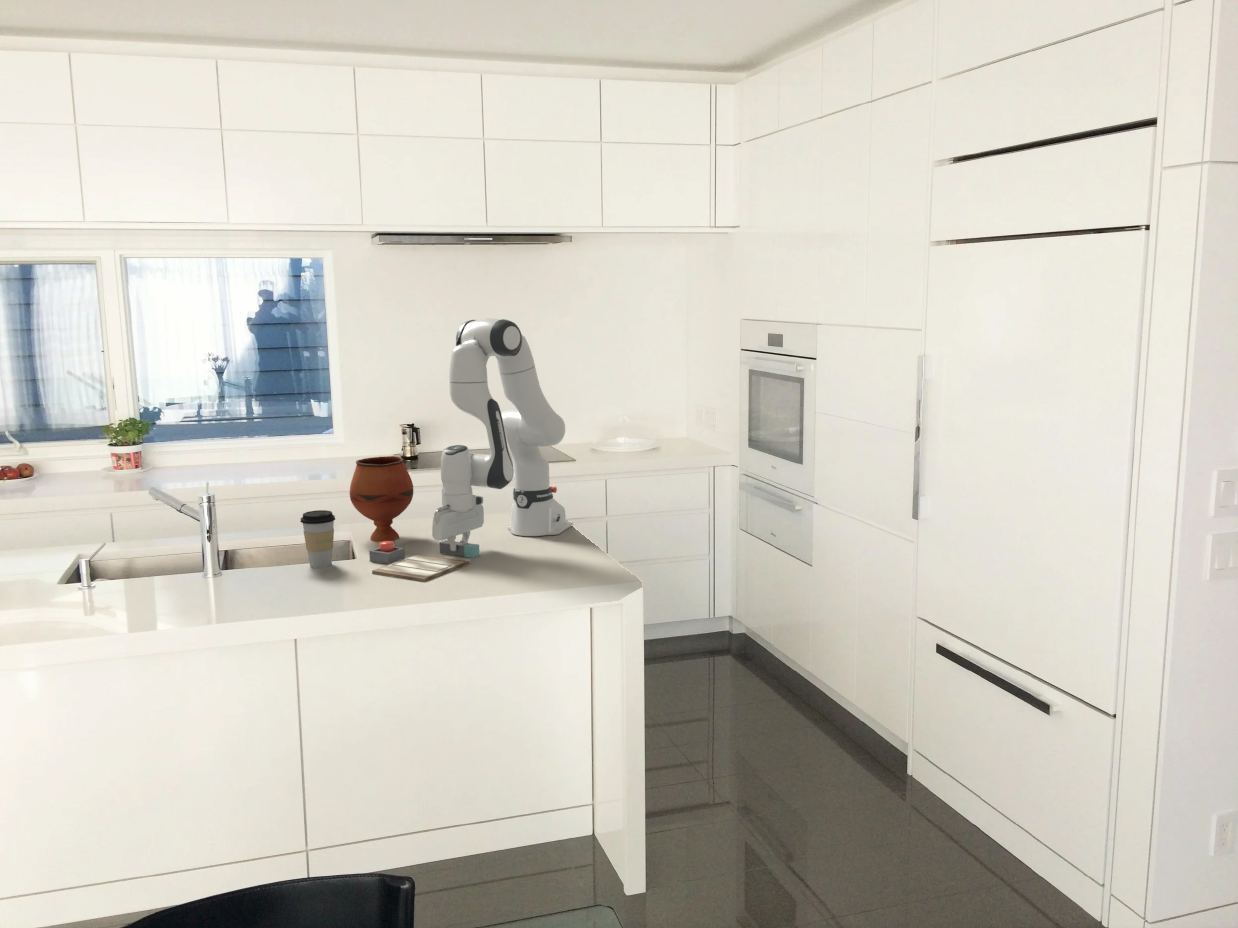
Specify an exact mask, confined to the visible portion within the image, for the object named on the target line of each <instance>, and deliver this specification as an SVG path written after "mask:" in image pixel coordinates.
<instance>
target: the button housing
mask: <svg viewBox="0 0 1238 928" xmlns="http://www.w3.org/2000/svg"><path fill="white" fill-rule="evenodd" d="M368 553H369V554H368V555H369V562H372V563H373V562H374V563H379V564H386V565H389V564H392V563H395V562H398V561H400V560H403V559H406V551H405V547H400V546H394V551H391V552H388V553H387V552H380V547H377V548H374V549H371V550H369V551H368Z"/></svg>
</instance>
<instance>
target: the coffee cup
mask: <svg viewBox="0 0 1238 928" xmlns="http://www.w3.org/2000/svg"><path fill="white" fill-rule="evenodd" d="M335 520H336V517H335V515H334V514H333V512H332V510H321V509H319V510H310V511H306V512H303V513H302V517H301V518H300V523H301V524H302V526H303V536H304V543H305V548H306V551H307V556H308V561H309V566H310V568H315V569H321V568H322V569H323V568H328V567H331V566H332V564H333V549H334V539H335V537H334V535H335V527H334V526H335V525H334V523H335V522H334V521H335Z"/></svg>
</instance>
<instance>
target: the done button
mask: <svg viewBox="0 0 1238 928" xmlns="http://www.w3.org/2000/svg"><path fill="white" fill-rule="evenodd" d="M394 547H395V542H394V540H392V541H383V542H379V548H380V552H387V553H388V552H391V551H394Z"/></svg>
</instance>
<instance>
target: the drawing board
mask: <svg viewBox="0 0 1238 928" xmlns="http://www.w3.org/2000/svg"><path fill="white" fill-rule="evenodd" d="M470 564H471V560H466V559H459V558H452V557H446V556H439V555H431V554H424V553H417V554H416V555H413V556H409V557H405V558H404V559H401V560H399V561H396V562H393V563H390V564H386V565H384V566H382V567H379V568H375V569H373V570H371V572H372V574H373V575H381V576H385V575H386V577H391V576H393V578H398V579H406V580H411V581H416V580H417V582H422V581H423V583H425V582H428V581H430V580H432V579H435V578H437V577H440V576H443V575H444V574H447V572H448V573H450V572H452V570H453V571H455V570H458V569H460V568H462V567H465V566H467V565H470ZM457 568H458V569H457ZM442 574H443V575H442Z"/></svg>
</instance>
